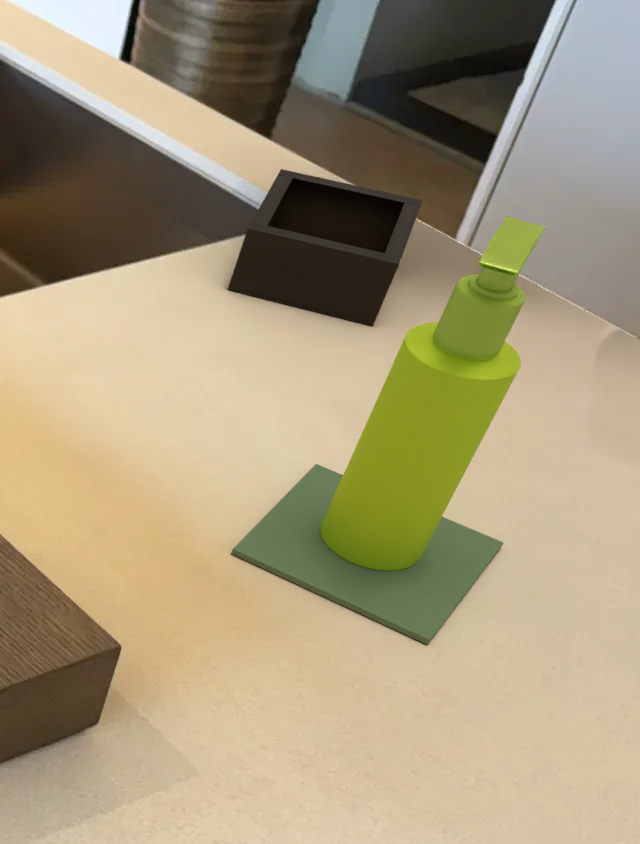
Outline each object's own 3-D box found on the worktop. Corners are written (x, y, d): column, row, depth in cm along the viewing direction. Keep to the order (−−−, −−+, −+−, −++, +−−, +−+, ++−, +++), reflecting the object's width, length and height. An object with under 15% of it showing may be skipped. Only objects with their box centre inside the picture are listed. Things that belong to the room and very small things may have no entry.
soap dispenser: (301, 555, 82) (440, 240, 67) (336, 499, 86) (475, 190, 71) (401, 593, 80) (567, 275, 65) (432, 534, 83) (596, 222, 69)
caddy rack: (372, 326, 102) (399, 263, 98) (227, 289, 105) (247, 228, 101) (397, 260, 109) (423, 200, 105) (260, 228, 112) (280, 168, 109)
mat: (501, 547, 83) (504, 542, 83) (427, 645, 77) (430, 639, 77) (313, 468, 89) (316, 463, 88) (230, 553, 82) (232, 548, 82)
